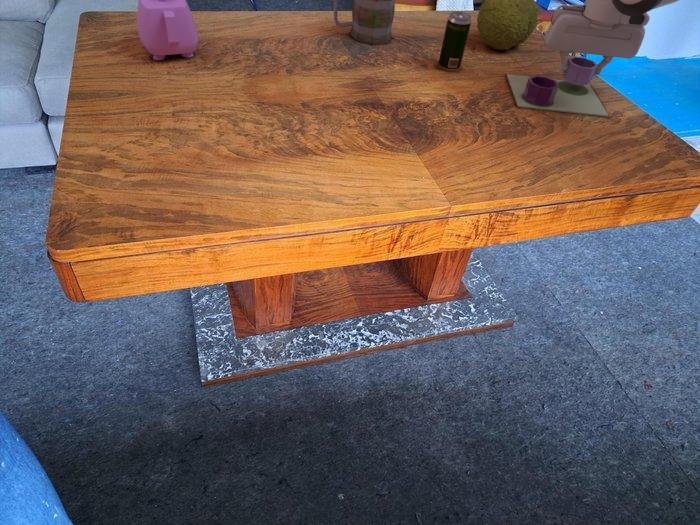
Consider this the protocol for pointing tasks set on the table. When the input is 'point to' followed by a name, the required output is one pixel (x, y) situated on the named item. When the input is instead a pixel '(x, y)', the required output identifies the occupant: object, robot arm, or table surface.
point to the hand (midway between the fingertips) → (579, 71)
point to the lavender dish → (580, 71)
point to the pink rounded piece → (166, 28)
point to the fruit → (506, 22)
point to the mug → (370, 20)
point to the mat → (561, 97)
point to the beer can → (454, 41)
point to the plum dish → (540, 90)
